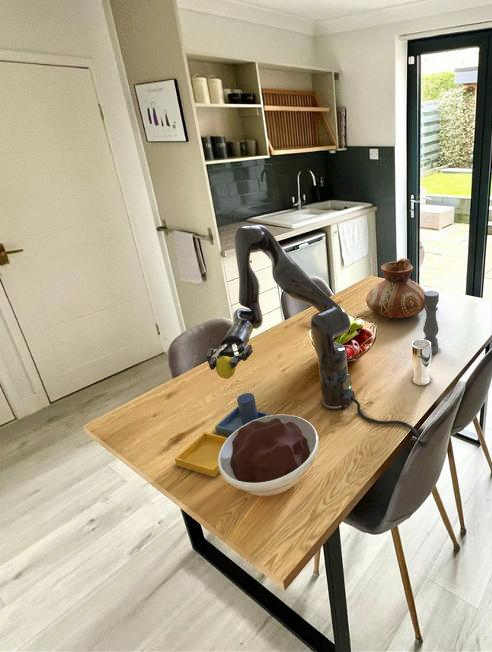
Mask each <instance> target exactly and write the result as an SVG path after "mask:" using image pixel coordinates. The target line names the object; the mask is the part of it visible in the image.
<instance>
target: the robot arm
mask: <svg viewBox="0 0 492 652" xmlns="http://www.w3.org/2000/svg"><path fill="white" fill-rule="evenodd" d="M233 239H234V251H235V259H236V266H237V273H238V303H239V305H240V306H242V307H244V308H237V309H235V311H234V312H233V316H232V322H233V323H232V325H231V327H230V328H229V330H227V332H226V334H225V336H224V337H223V338H222V341H221V343H220V345H219V346H218V347H217V348H213V347H208V348H207V352H206V361H207V363H208V366H209V369H210V370H211V371H214V370H216V362H217V360H218V359H219V358H220V357H222V356H228V357H230V358H231V359H232V360H231V362H230V364H231V368H235V369H236V367H237V366H238V364H239V363H240V362H241V361H244V362H245V361H247V360H248V358H250V357H251V355H252V353H253V352H254V351H253V345H252V344H248V343H249V341H250V338H251V335H252V333H253V331H254V330H256V329H259V328H260V327H262V324H263V320H264V317H263V312H262V309H261V305H260V287H261V286H260V281H259V278H258V277H257V275H256V273H255V271H254V270H253V267H252V266H251V254H255V253H260V252H262V254H265V256H267V258H268V259H269V260H270V262H271V272H272V273H271V275H272V279H273V280H274V282H275V283H276V285H277V286H278V287H279V288H280V289H281V291H282V292H283V293H284V294H286V295H287V296H288V297H290V298H292V299H294V300H296V301H299V302H302V303H304V304H306V305H309V306H310V307H313V308H314V309H316V310H317V311H318V312H317V313H315V314H313V315H312V316H311V319H310V332H311V337H312V343H313V348H314V351H315V354H316V357H317V364H318V365H317V366H318V375H319V383H320V391H321V403H322V405H323V407H325V408H326V409H328V410H340V409H346V408H347V407H348V406H349V407H350V406H351V404H352V403H354V404H356V411H357V413H358V415H360V417H361V418H362V419H364V420H365V421H367V422H369V423H370V422H371V423H373V424H377V425H401V426H404V427H406V428H408V429H409V430H410V431H411V432H412V433H413V434H414V436H415V438H416V439H417V440H418V438H419V437H420V438H421V436H420V435H419V433H418V431H417V430H416V428H414V427H413V426H412V425H411V424H409V423H407V422H404V421H401V420H378V419H374V418H371V417H368V416H366V415H365V414H364V413H363V412H362V410H361V404H360V402H359V401H358V400H357V399H356V394H355V390H353V387H352V386H353V385H352V376H351V374H350V373H349V369H348V355H347V348H346V346H345V345H344V344H342V343H340V342H335V341H334V340H335V339H336V338H338V337H340V336H342V335H344V334H345V333H347V332H348V331H349V330H350V328H351V320H350V317H349V315H348V313H347V312H346V310H345V309H344V308H343V307H342V306H340V305H339V304H338V303H337V302H336V301H335V300H334V299H332V297H330V296H329V295H328V294H327V293H326V292H325V291H323V290H322V289H321V288H320V286H319V285H317V284H316V283H315V281H314V280H312V279H311V278H310V277H309V275H308V274H307V273H306V272H305V271H304V270H303V269H302V267H300V265H299V264H297V262H296V261H295V260H294V259H292V257H291V256H290V255H289V253H288V252H287V251H286V250H285V249H284V248H283V247H282V245H281V244H280V243H279V242H278V240H277V239H276V237H275V236H274V234H273V233H272V232H271V231H270V230H269V229H268V228H267V227H266V226H264V225H263V224H252V225H243V226H239V227H237V228H236V230H235V231H234V238H233ZM419 444H420V445H424V441H423V440H422V442H421V443H419Z"/></svg>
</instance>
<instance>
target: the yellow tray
mask: <svg viewBox="0 0 492 652" xmlns="http://www.w3.org/2000/svg"><path fill="white" fill-rule="evenodd" d="M227 439H228V437H226V436H221V435H218V434H214V433H211V432H208V431H207V432H206V431H204V432H202V433H201V434H200V435H199V436H197V438H195V440H193V441H192V442H191V443H190V444H189V445H188V446H186V448H185V449H184V450H182V451H181V452H180V453H179V454H178V455H177V456H175V457H174V462H175V465H176V466H177V467H181V468H184V469H186V470H190V471H194V472H197V473H200V474H203V475H207V476H210V477H213V478H215V477H217V476H218V475H219V473H220V471H219V468H218V456H219V452H220V449H221V447H222V446H223V444H224V442H225V441H226V440H227Z"/></svg>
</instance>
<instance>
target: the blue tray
mask: <svg viewBox="0 0 492 652" xmlns="http://www.w3.org/2000/svg"><path fill="white" fill-rule="evenodd" d="M257 413H258V418H262V417H265V416H270V413H269V412H264V411H259V410H257ZM242 426H243V425H242V421H241V416H240V412H239V407H238V405H237V406H236V407H235V408H233V409H232V410H231V411H230V412H229V413H228V414H227V415H226V416H225V417H224V418H223V419H222V420H221V421H220V422H219V423H217V424H216V425H215V431H216V433H219V434H223V435H226V436H230V435H231V434H232V433H234V432H235V431H236V430H237V429H239V428H240V427H242Z"/></svg>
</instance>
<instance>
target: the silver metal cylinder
mask: <svg viewBox="0 0 492 652" xmlns="http://www.w3.org/2000/svg"><path fill="white" fill-rule="evenodd" d="M410 351H411V363H412V368H413V377H412V383H414V384H415V385H418V386H426V385H428V384H429V383H430V382H431V378H430V368H431V362H432V354H431V343H430V342H429V341H428V340H424V338H423V339H422V338H421V339H415V340H413V341H412V342H411V350H410Z"/></svg>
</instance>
